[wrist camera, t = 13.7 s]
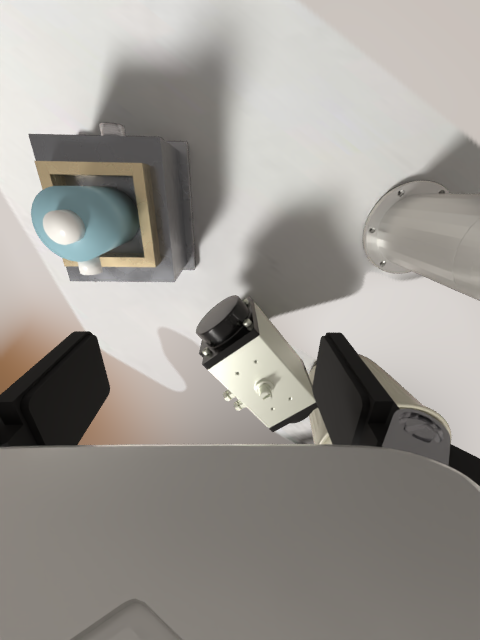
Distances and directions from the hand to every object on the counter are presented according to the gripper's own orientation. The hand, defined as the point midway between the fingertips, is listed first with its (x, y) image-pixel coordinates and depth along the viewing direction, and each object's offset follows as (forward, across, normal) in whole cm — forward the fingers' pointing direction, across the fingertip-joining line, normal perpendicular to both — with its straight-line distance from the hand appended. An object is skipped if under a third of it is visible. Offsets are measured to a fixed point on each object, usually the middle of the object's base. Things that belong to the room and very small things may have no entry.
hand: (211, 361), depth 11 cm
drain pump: (+20, +12, -4) cm, 24 cm away
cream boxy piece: (+31, -4, +14) cm, 34 cm away
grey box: (+30, +12, -4) cm, 33 cm away
